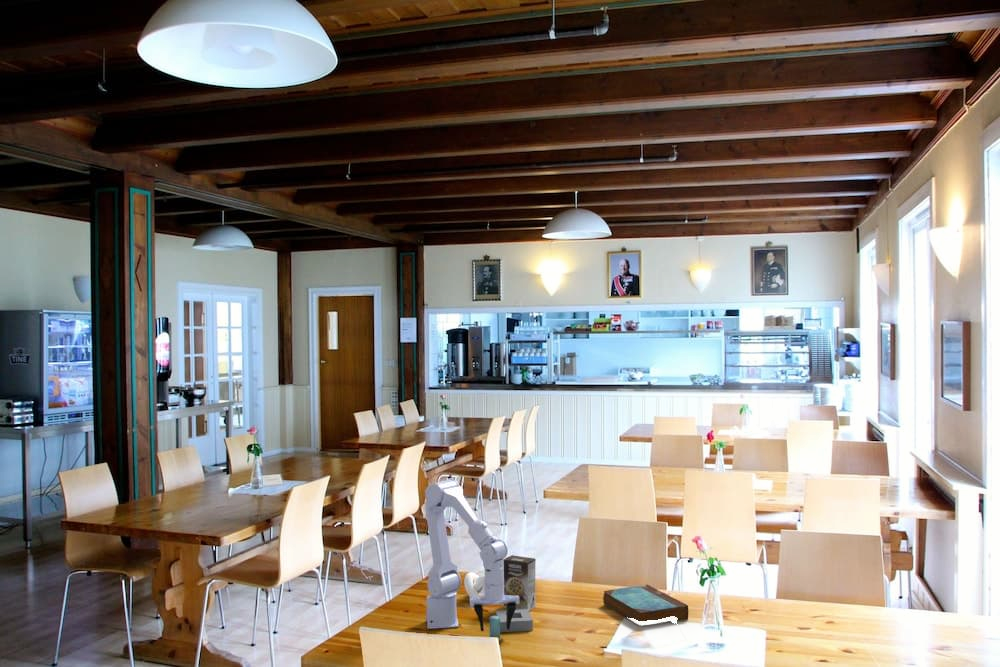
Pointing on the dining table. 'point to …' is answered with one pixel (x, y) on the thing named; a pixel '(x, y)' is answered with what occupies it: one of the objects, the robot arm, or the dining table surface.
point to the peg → (495, 626)
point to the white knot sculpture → (475, 584)
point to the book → (644, 603)
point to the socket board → (516, 621)
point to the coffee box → (520, 580)
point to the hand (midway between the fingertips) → (495, 629)
